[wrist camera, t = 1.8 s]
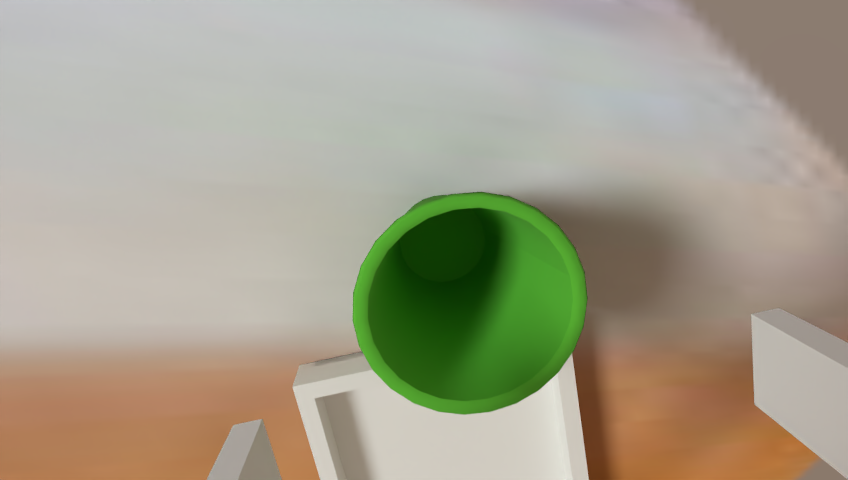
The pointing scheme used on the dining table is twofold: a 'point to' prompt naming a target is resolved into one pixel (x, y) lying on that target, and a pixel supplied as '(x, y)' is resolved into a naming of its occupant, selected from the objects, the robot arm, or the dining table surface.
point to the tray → (435, 430)
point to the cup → (469, 302)
